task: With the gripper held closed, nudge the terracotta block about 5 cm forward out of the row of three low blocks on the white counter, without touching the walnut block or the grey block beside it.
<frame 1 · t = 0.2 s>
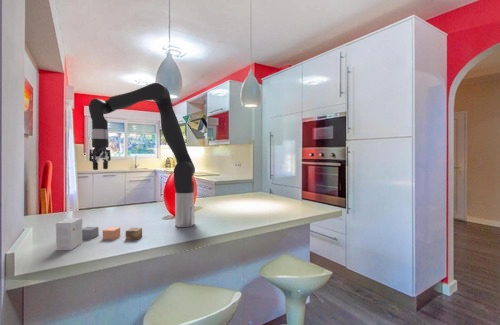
hand: (100, 169, 136), 29 cm above the counter, tool pointing down, fingers open, 8 cm apart
small box: (69, 247, 103), on the counter
walnut block: (134, 238, 114), on the counter
terracotta block: (111, 237, 115), on the counter
grey block: (89, 237, 115), on the counter
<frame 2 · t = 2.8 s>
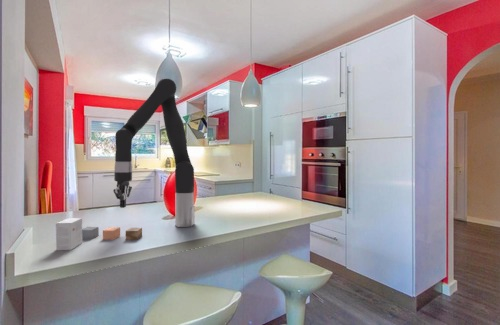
hand: (122, 207, 124), 11 cm above the counter, tool pointing down, fingers closed
nothing on the counter moved.
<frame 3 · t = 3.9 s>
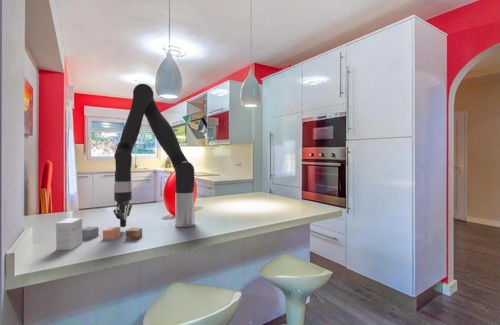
hand: (123, 226, 124), 2 cm above the counter, tool pointing down, fingers closed
nothing on the counter moved.
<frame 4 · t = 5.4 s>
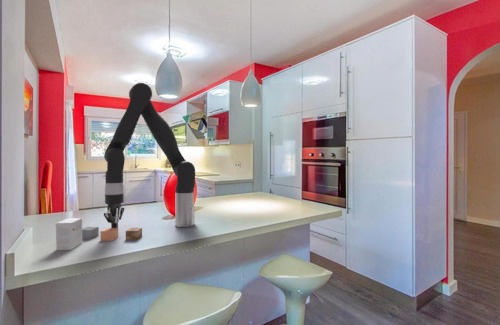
hand: (114, 230, 117), 2 cm above the counter, tool pointing down, fingers closed
terracotta block: (109, 238, 113), on the counter
everything else where it was.
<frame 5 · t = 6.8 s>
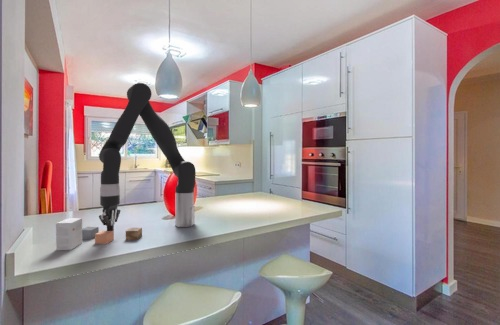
hand: (110, 233, 114), 2 cm above the counter, tool pointing down, fingers closed
terracotta block: (104, 241, 109), on the counter
everything else where it was.
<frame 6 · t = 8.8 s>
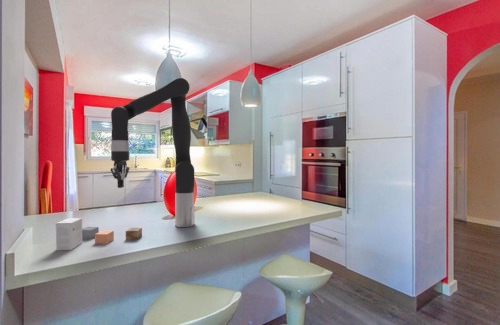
hand: (120, 187, 122), 21 cm above the counter, tool pointing down, fingers closed
nothing on the counter moved.
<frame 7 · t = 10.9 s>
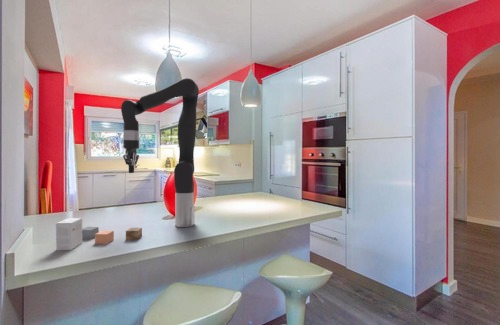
hand: (131, 172, 136), 27 cm above the counter, tool pointing down, fingers closed
nothing on the counter moved.
at the end: terracotta block moved 5.3 cm from its start; walnut block moved 0.2 cm from its start; grey block moved 0.2 cm from its start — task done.
